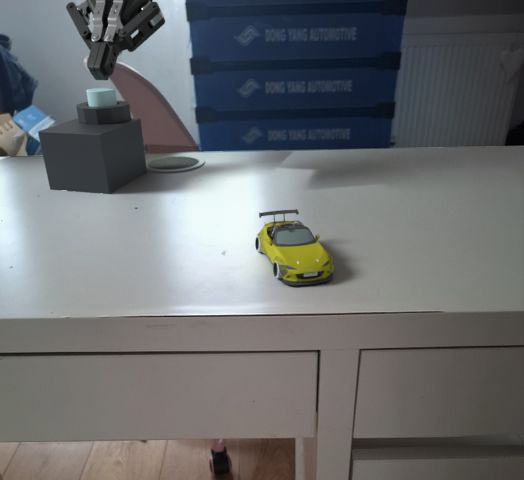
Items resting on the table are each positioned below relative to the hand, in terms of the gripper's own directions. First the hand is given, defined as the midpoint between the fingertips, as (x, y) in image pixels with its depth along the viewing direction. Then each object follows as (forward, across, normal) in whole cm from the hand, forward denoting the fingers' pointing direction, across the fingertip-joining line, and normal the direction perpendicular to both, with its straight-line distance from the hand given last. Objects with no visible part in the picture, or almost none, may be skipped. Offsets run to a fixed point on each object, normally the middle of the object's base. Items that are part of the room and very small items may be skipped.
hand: (98, 75), depth 66 cm
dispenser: (+11, 0, +6) cm, 12 cm away
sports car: (+24, +29, -7) cm, 39 cm away
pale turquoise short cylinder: (+3, 0, +3) cm, 4 cm away
